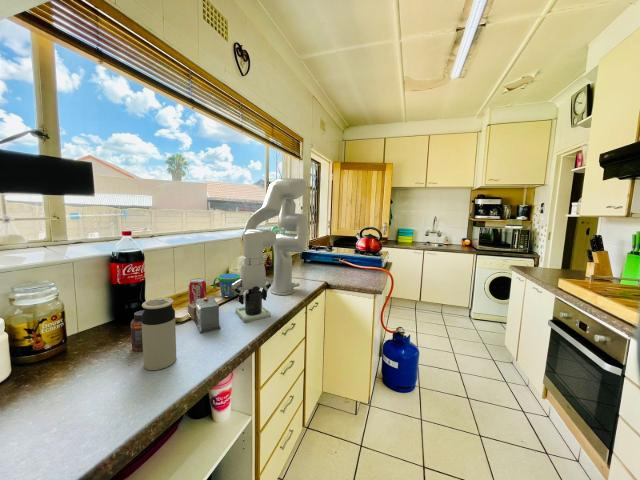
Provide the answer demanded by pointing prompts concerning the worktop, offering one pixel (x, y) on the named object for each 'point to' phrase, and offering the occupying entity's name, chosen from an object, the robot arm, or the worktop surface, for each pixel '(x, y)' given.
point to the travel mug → (158, 333)
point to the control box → (207, 314)
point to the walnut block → (192, 311)
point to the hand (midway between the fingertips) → (252, 301)
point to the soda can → (196, 290)
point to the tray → (247, 318)
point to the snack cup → (227, 284)
